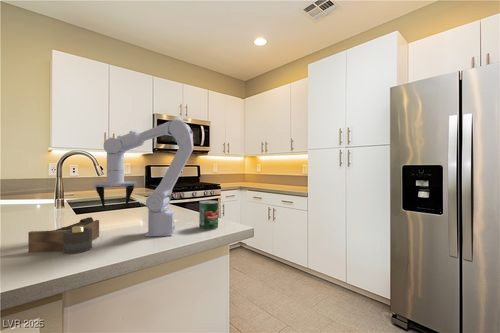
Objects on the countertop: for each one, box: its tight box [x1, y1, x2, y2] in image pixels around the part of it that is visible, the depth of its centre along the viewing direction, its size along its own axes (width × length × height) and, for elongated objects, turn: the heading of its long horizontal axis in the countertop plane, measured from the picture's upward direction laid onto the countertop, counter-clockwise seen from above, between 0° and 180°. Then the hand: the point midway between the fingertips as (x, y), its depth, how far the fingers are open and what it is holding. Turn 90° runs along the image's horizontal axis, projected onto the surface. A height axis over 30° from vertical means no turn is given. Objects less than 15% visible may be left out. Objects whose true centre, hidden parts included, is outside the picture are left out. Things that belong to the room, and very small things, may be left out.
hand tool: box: [50, 216, 94, 231], centre depth 91 cm, size 19×4×5 cm, turn 172°
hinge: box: [27, 219, 100, 255], centre depth 78 cm, size 17×17×6 cm
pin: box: [72, 226, 84, 233], centre depth 74 cm, size 3×3×7 cm
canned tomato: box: [198, 199, 219, 231], centre depth 101 cm, size 8×8×11 cm
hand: (115, 206), depth 91 cm, fingers open, 7 cm apart
